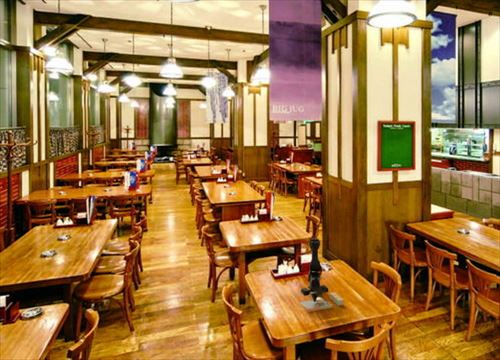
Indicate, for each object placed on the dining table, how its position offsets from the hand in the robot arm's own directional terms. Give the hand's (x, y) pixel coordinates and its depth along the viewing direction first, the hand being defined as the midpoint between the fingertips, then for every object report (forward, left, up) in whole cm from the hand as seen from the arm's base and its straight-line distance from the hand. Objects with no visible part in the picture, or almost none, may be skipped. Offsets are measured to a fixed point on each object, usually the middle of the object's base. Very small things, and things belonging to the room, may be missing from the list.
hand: (314, 301), depth 246 cm
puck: (0, +4, -1) cm, 4 cm away
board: (+3, 0, -2) cm, 4 cm away
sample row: (+2, +16, -2) cm, 16 cm away
